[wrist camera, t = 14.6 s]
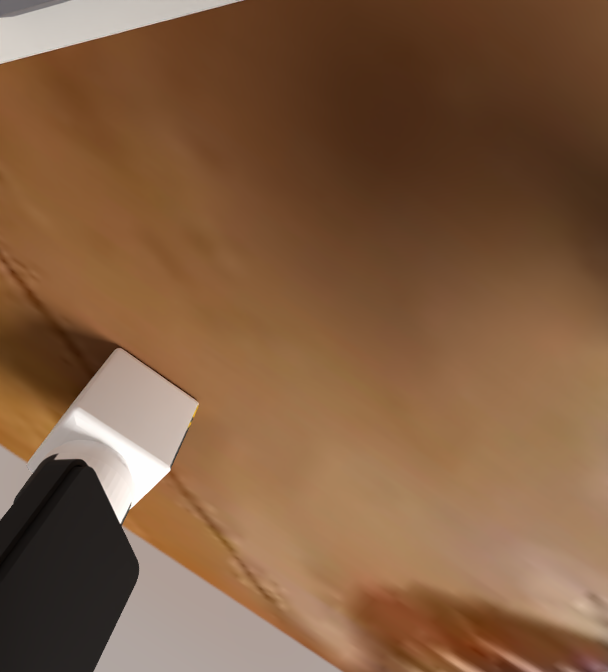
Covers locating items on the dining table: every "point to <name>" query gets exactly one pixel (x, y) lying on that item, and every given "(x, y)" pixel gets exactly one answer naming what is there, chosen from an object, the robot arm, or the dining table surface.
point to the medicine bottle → (121, 430)
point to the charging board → (81, 21)
